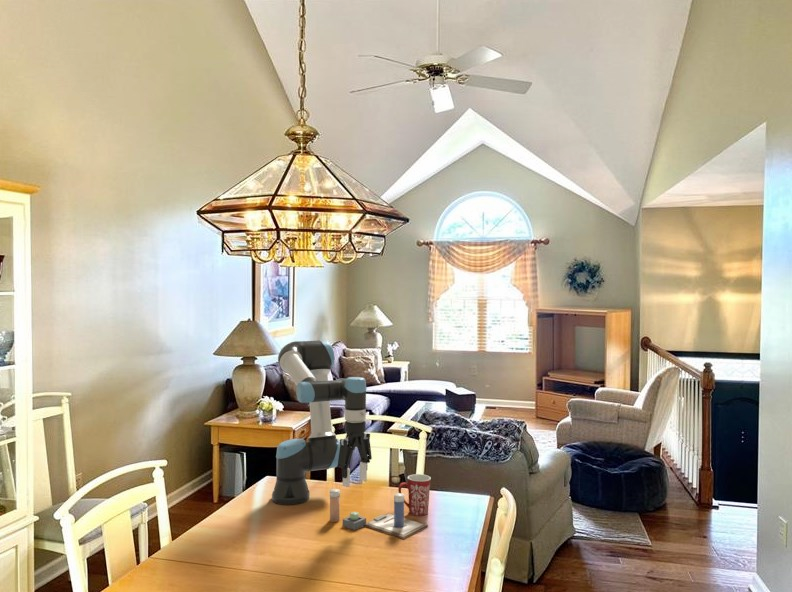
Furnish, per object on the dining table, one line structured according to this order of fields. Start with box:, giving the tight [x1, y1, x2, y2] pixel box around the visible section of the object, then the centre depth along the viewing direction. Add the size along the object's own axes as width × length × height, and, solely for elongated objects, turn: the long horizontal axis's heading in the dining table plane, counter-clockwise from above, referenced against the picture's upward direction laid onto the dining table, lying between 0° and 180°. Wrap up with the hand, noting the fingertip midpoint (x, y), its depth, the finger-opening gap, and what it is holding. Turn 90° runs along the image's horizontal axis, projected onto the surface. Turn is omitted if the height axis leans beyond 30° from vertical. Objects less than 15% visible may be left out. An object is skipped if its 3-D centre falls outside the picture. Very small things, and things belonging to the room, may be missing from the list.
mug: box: [397, 473, 432, 517], centre depth 226 cm, size 13×9×14 cm
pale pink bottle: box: [329, 488, 341, 523], centre depth 217 cm, size 4×4×11 cm
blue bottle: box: [393, 492, 405, 528], centre depth 210 cm, size 4×4×11 cm
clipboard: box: [363, 512, 429, 540], centre depth 212 cm, size 18×14×2 cm
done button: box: [349, 511, 360, 522], centre depth 213 cm, size 3×3×2 cm
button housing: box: [342, 515, 367, 531], centre depth 213 cm, size 6×6×2 cm
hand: (354, 483), depth 213 cm, fingers open, 8 cm apart
